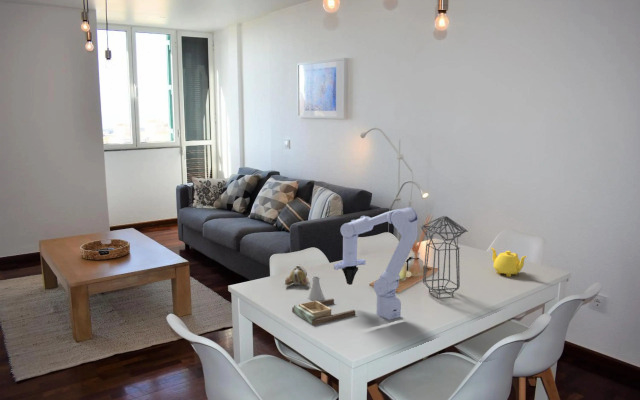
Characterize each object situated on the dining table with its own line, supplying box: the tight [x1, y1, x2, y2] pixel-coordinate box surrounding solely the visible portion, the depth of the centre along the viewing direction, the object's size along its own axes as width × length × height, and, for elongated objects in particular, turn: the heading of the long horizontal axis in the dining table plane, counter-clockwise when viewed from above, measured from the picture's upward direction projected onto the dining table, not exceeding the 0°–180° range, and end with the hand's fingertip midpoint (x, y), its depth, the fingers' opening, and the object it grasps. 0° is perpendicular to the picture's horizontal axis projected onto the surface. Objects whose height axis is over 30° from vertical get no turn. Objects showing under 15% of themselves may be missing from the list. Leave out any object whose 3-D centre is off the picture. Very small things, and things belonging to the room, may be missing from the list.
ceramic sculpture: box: [284, 264, 309, 286], centre depth 247 cm, size 11×9×15 cm
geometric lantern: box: [420, 215, 469, 299], centre depth 231 cm, size 16×16×35 cm
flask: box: [307, 276, 325, 302], centre depth 225 cm, size 7×7×10 cm
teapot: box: [490, 247, 528, 278], centre depth 264 cm, size 20×15×12 cm
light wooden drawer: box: [298, 300, 332, 319], centre depth 207 cm, size 11×8×4 cm
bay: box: [291, 298, 356, 326], centre depth 209 cm, size 16×19×4 cm
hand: (349, 283), depth 218 cm, fingers closed
